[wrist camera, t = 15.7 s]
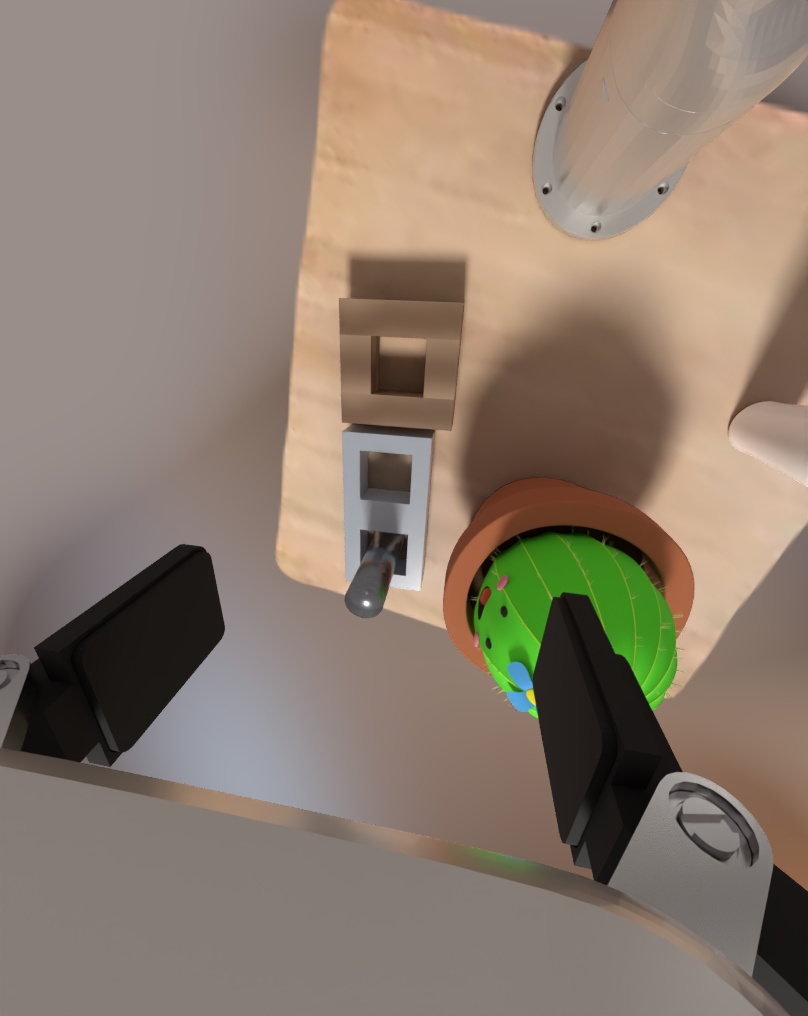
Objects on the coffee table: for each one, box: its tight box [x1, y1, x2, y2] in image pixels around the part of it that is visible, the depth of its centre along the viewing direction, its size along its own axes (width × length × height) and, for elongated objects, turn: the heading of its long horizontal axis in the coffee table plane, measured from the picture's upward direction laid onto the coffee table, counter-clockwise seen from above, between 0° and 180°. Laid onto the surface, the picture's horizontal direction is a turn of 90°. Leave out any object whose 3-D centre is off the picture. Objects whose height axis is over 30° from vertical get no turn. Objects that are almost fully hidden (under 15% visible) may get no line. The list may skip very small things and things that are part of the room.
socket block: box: [339, 298, 464, 431], centre depth 40 cm, size 12×12×4 cm
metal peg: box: [345, 531, 404, 618], centre depth 45 cm, size 4×4×14 cm
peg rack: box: [342, 424, 435, 591], centre depth 47 cm, size 20×10×4 cm, turn 178°
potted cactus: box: [443, 478, 694, 719], centre depth 37 cm, size 22×22×25 cm
